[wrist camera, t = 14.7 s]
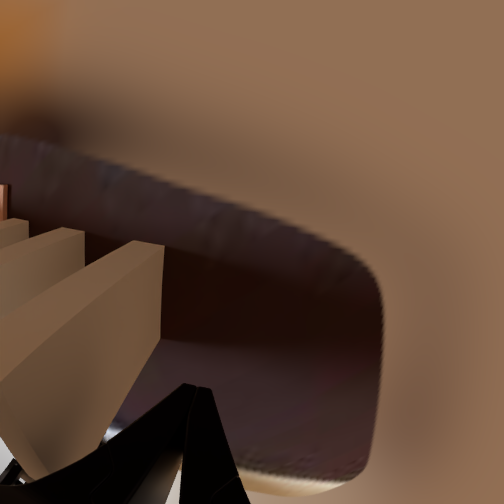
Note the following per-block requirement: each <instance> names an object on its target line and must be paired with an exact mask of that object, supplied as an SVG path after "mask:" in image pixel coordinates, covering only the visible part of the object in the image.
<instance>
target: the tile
mask: <svg viewBox="0 0 504 504" xmlns="http://www.w3.org/2000/svg"><path fill="white" fill-rule="evenodd" d="M7 192H8V185H5V184H0V222H1V221H4V220H7Z"/></svg>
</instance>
